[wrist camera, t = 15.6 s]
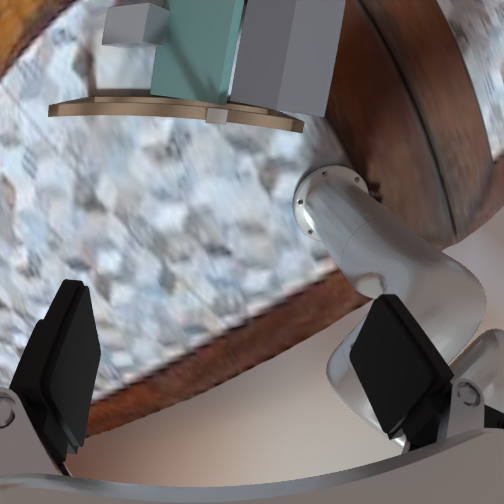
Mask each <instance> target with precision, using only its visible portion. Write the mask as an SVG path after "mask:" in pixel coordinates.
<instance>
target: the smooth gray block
mask: <svg viewBox="0 0 504 504" xmlns="http://www.w3.org/2000/svg"><path fill="white" fill-rule="evenodd" d="M169 14H170V11H169V10H166V9H164V8H162V7H160V6H157V5H155V4H153V3H150V2H149V3H140V4H131V5H124V6H117V7H111V8H108V12H107V17H106V22H105V27H104V33H103V39H102V45H107V46H115V47H122V48H131V47H164V41H165V35H166V29H167V24H168V19H169Z"/></svg>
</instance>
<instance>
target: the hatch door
mask: <svg viewBox="0 0 504 504" xmlns="http://www.w3.org/2000/svg"><path fill="white" fill-rule="evenodd" d="M345 2H346V0H248V2H247V7H246V12H245V18H244V23H243V28H242V34H241V39H240V45H239V50H238V56H237V62H236V68H235V73H234V79H233V86H232V92H231V98H230V101H234V102H239V103H245V104H250V105H255V106H260V107H265V108H269V109H274V110H279V111H287V112H294V113H300V114H306V115H312V116H318V117H324V115H325V110H326V106H327V101H328V96H329V91H330V85H331V80H332V75H333V70H334V65H335V59H336V54H337V48H338V43H339V37H340V32H341V26H342V20H343V14H344V8H345ZM243 5H244V0H165V5H164V9H166V10H169V11H170V14H169V19H168V24H167V29H166V35H165V41H164V47H157V48H156V54H155V61H154V68H153V75H152V83H151V91H150V94H152V95H160V96H167V97H175V98H182V99H188V100H194V101H200V102H206V103H212V104H217V105H226V102H227V96H228V89H229V83H230V77H231V71H232V65H233V59H234V54H235V48H236V42H237V37H238V31H239V26H240V21H241V15H242V10H243Z"/></svg>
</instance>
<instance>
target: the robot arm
mask: <svg viewBox="0 0 504 504" xmlns="http://www.w3.org/2000/svg"><path fill="white" fill-rule="evenodd" d="M323 172H324V173H323ZM322 173H323V174H322ZM299 199H300V201H298V200H299ZM293 213H294V217H295V220H296V223H297V224H298V226H299V228H300V229H301V230H302V231H303V233H305V234H306V235H307V236H308V237H310V238H312V239H314V240H318V241H322V243H323V244H324V246H325V247H326V249H327V250H328V252H329V253H330V254H331V256H332V257H333V259H334V260H335V262H336V263H337V265H338V266H339V268H340V269H341V271H342V272H343V274H344V275H345V277H346V278H347V280H348V281H349V283H350V284H351V285H352V287H353V288H354V289H356V290H357V291H358V292H359V293H361V294H363V295H365V296H367V297H371V298H374V299H375V300H374V302H373V304H372V306H371V308H370V311H369V312H368V313H367V314H366V315H365V317H364V318H363V319H362V320H361V321H360V322H359V323H358V325H357V326H356V327H355V328H354V329H353V330H352V331H351V332H350V333H349V334H348V336H347V337H346V338H345V339H344V340H343V341H342V342H341V343H340V345H339V346H338V347H337V348H336V349H335V350H334V352H333V353H332V355H331V356H330V358H329V360H328V363H327V368H326V374H327V379H328V382H329V385H330V387H331V388H332V390H333V391H334V393H335V395H336V396H337V397H338V398H339V399H340V401H341V402H343V404H344V405H346V407H347V408H349V409H350V410H351V411H352V412H353V413H354V414H356V415H357V416H358V417H360V418H361V419H362V420H363V421H365V422H366V423H367V424H369V425H370V426H371V427H373V428H374V429H375V430H377V431H378V432H380V433H381V434H382V435H384V436H385V437H386V438H388V439H389V440H390V441H392V442H393V443H395V444H396V445H398V446H399V447H400V448H402V449H403V451H402V454H401V455H399V456H395V457H392V458H389V459H385V460H382V461H379V462H375V463H372V464H368V465H364V466H360V467H356V468H352V469H348V470H343V471H339V472H334V473H330V474H325V475H320V476H314V477H308V478H303V479H296V480H289V481H282V482H275V483H265V484H255V485H242V486H225V487H167V486H149V485H134V484H124V483H115V482H107V481H100V480H93V479H85V478H77V477H73V476H72V475H71V473H70V472H69V470H68V469H67V467H66V466H65V464H64V461H65V460H66V454H67V453H71V454H77V450H78V446H79V447H82V446H83V444H84V439H85V433H86V426H87V421H88V415H89V409H90V404H91V399H92V394H93V389H94V384H95V379H96V375H97V370H98V366H99V362H100V356H101V349H100V344H99V339H98V335H97V330H96V325H95V320H94V315H93V309H92V303H91V298H90V291H89V288H88V286H84V284H83V282H82V281H79V280H68V279H65V280H64V281H63V282H62V284H61V286H60V288H59V290H58V292H57V294H56V296H55V297H54V299H53V301H52V303H51V305H50V308H49V310H48V312H47V314H46V316H45V318H44V320H43V319H41V320H39V321H38V322H37V324H36V326H35V328H34V330H33V332H32V334H31V336H30V339H29V341H28V343H27V345H26V348H25V350H24V352H23V354H22V357H21V359H20V362H19V364H18V366H17V369H16V371H15V374H14V376H13V379H12V382H11V384H10V387H9V389H7V388H4V387H0V504H504V330H501V329H496V328H495V329H490V330H487V331H485V332H484V333H482V334H481V335H480V336H478V337H477V338H476V339H475V340H474V341H473V342H472V343H471V344H470V345H469V346H468V347H467V348H466V349H465V350H464V351H463V352H462V353H461V354H460V355H459V356H458V357H457V358H456V359H455V360H454V361H453V362H452V363H451V364H450V365H449V366H448V364H449V363H450V362H451V360H452V359H454V357H455V356H456V355H457V354H458V353H459V352H460V351H461V350H462V349H463V348H464V347H465V346H466V345H467V343H468V342H469V341H470V340H471V338H472V337H473V336H474V334H475V333H476V331H477V330H478V328H479V326H480V324H481V322H482V320H483V318H484V315H485V311H486V304H487V301H486V294H485V291H484V288H483V286H482V284H481V283H480V281H479V280H478V279H477V277H476V276H475V275H474V274H473V273H472V272H471V271H470V270H468V269H467V268H466V267H465V266H463V265H462V264H461V263H459V262H458V261H456V260H454V259H453V258H451V257H449V256H448V255H446V254H445V253H443V252H441V251H440V250H438V249H437V248H435V247H434V246H432V245H431V244H429V243H428V242H426V241H425V240H424V239H422V238H421V237H420V236H419V235H418V234H416V233H415V232H414V231H412V230H411V229H410V228H409V227H408V226H406V225H405V224H404V223H403V222H402V221H401V220H399V219H398V218H397V217H396V216H395V215H393V214H392V213H391V212H390V211H389V210H387V209H386V206H385V205H381V204H380V203H379V202H377V201H376V200H375V199H374V198H372V197H371V196H370V195H369V193H368V188H367V186H366V184H365V182H364V180H363V179H362V177H361V176H360V175H358V174H357V173H356V172H355V171H353V170H352V169H350V168H347V167H345V166H340V165H329V166H324V167H321V168H319V169H317V170H315V171H313V172H312V173H310V174H309V175H308V176H307V177H306V178H305V179H304V180H303V181H302V183H301V184H300V185H299V187H298V189H297V191H296V193H295V197H294V201H293ZM308 230H309V231H308Z"/></svg>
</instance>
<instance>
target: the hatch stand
mask: <svg viewBox="0 0 504 504" xmlns="http://www.w3.org/2000/svg"><path fill="white" fill-rule="evenodd" d="M79 115H135V116H160V117H176V118H190V119H202V120H206V123H213V124H223V125H226V122H231V123H239V124H247V125H254V126H261V127H268V128H274V129H281V130H287V131H292V132H298V133H302V132H303V127H304V121H301V120H299V119H297V118H294V117H292V116H289V115H287V114H284V113H282V112H279V111H277V110H272V109H266V108H260V107H253V106H246V105H239V104H231V103H226V105H217V104H212V103H206V102H200V101H194V100H188V99H178V98H161V97H129V96H104V97H86V98H81V99H75V100H71V101H66V102H61V103H57V104H52V105H49V110H48V117H55V116H79Z"/></svg>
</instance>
